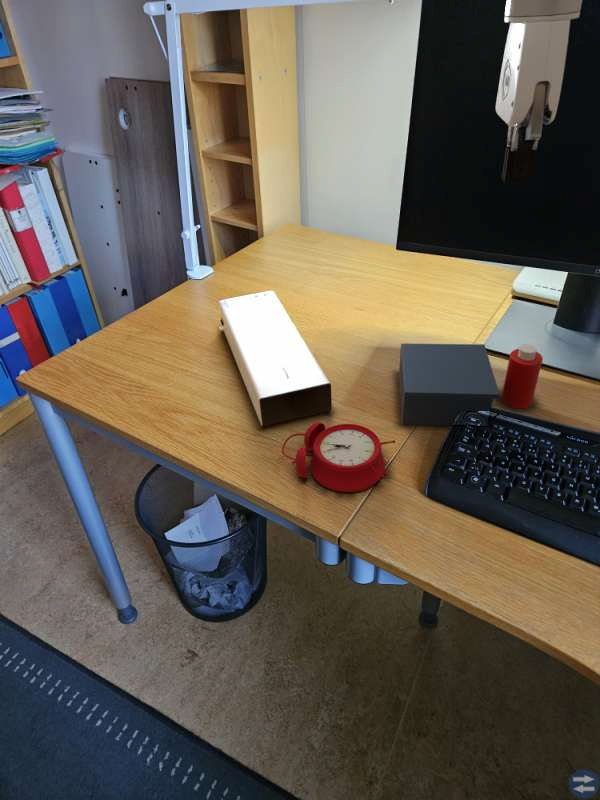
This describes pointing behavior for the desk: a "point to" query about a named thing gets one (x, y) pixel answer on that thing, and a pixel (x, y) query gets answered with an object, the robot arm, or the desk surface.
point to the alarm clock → (341, 456)
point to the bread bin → (437, 407)
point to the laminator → (273, 359)
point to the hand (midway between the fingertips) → (515, 181)
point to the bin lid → (447, 371)
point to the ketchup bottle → (521, 377)
